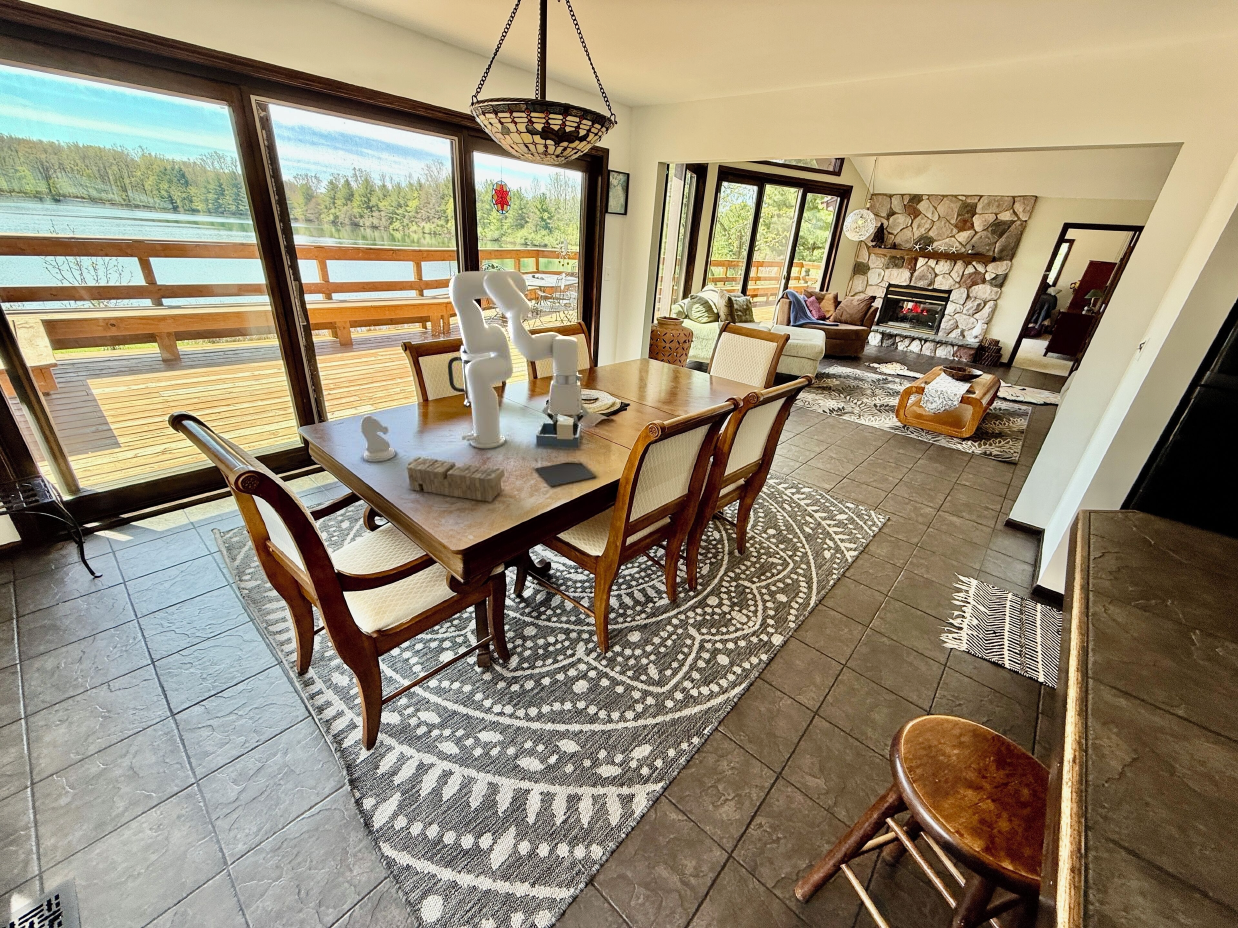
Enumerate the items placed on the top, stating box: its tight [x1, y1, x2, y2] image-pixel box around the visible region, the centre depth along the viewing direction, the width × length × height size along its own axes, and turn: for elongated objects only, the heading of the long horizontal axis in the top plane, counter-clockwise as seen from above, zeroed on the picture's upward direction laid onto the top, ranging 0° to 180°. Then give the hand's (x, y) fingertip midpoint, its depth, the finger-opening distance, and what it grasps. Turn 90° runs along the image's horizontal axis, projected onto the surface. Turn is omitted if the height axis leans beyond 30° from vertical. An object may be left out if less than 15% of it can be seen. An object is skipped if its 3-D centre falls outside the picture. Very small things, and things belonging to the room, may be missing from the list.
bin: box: [535, 421, 582, 449], centre depth 184 cm, size 16×14×5 cm
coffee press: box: [447, 343, 491, 407], centre depth 215 cm, size 17×16×30 cm
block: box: [557, 418, 574, 439], centre depth 155 cm, size 5×5×5 cm
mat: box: [535, 462, 597, 488], centre depth 161 cm, size 16×14×1 cm
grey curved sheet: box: [578, 412, 614, 427], centre depth 206 cm, size 14×10×3 cm
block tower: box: [406, 456, 505, 503], centre depth 145 cm, size 8×8×29 cm
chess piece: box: [360, 414, 396, 463], centre depth 163 cm, size 10×10×15 cm
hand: (565, 432), depth 155 cm, fingers closed on block, 5 cm apart
